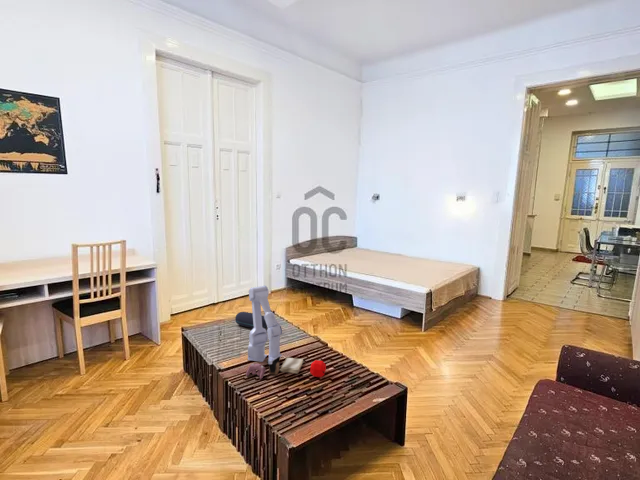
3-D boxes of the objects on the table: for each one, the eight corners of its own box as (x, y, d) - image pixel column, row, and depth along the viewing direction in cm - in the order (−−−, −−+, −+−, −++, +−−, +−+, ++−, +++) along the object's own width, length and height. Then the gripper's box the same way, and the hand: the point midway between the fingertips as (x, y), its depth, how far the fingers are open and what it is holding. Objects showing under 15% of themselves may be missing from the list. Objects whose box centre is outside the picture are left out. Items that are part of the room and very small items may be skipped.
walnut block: (268, 373, 185) (269, 365, 184) (271, 369, 189) (271, 361, 188) (276, 374, 184) (276, 366, 183) (279, 370, 188) (279, 362, 187)
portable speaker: (270, 328, 244) (270, 314, 243) (263, 333, 235) (263, 319, 234) (242, 321, 254) (242, 308, 253) (233, 326, 245) (233, 313, 244)
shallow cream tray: (280, 371, 188) (280, 367, 187) (286, 360, 199) (286, 357, 199) (298, 373, 186) (298, 369, 186) (303, 362, 198) (303, 359, 197)
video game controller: (264, 379, 182) (267, 365, 184) (261, 379, 178) (264, 365, 180) (248, 375, 186) (251, 362, 188) (244, 375, 181) (247, 362, 183)
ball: (323, 380, 180) (324, 366, 179) (309, 378, 182) (309, 365, 181) (326, 372, 188) (326, 359, 187) (312, 370, 190) (312, 357, 188)
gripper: (277, 353, 176) (277, 377, 178) (285, 341, 190) (284, 363, 192) (264, 352, 177) (264, 376, 180) (273, 340, 192) (273, 362, 194)
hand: (274, 369), depth 186 cm, fingers closed on walnut block, 4 cm apart
